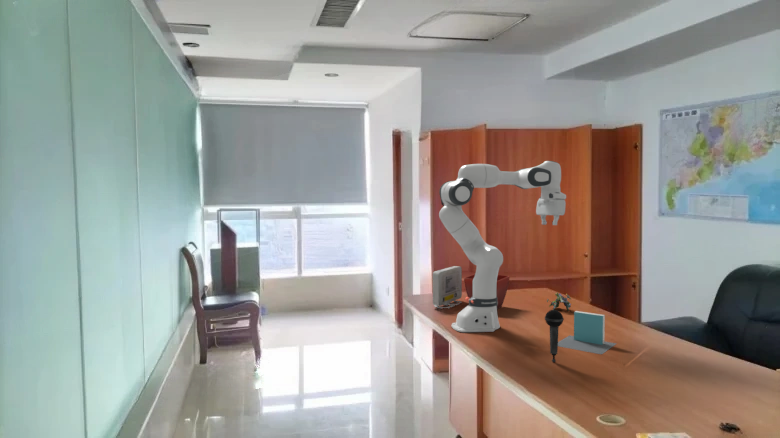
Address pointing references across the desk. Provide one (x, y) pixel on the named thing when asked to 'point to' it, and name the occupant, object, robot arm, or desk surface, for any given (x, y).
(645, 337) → the desk surface
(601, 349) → the mat
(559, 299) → the passion flower
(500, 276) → the plant pot
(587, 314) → the tile
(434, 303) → the network device
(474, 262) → the robot arm
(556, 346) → the microphone
